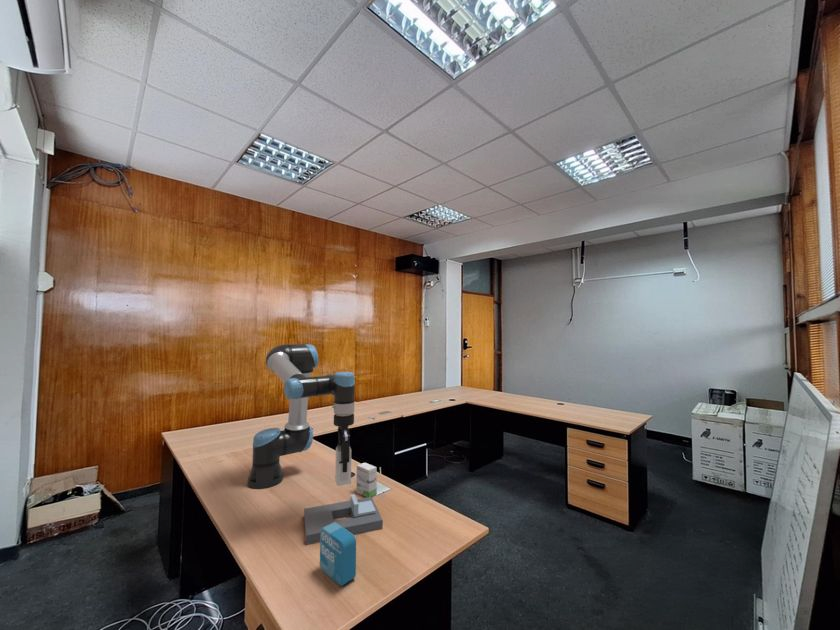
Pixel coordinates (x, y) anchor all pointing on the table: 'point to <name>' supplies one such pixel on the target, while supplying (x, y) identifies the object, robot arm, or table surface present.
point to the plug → (338, 459)
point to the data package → (338, 553)
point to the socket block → (326, 514)
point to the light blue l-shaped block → (361, 507)
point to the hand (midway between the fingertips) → (343, 477)
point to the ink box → (366, 480)
